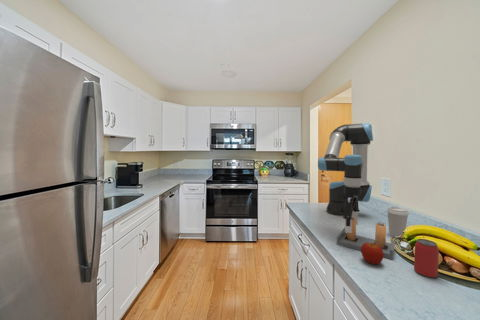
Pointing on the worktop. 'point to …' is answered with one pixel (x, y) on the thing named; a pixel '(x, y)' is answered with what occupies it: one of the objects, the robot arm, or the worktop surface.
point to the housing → (369, 241)
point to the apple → (372, 253)
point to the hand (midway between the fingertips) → (351, 227)
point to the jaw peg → (352, 235)
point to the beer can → (426, 258)
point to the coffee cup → (397, 220)
